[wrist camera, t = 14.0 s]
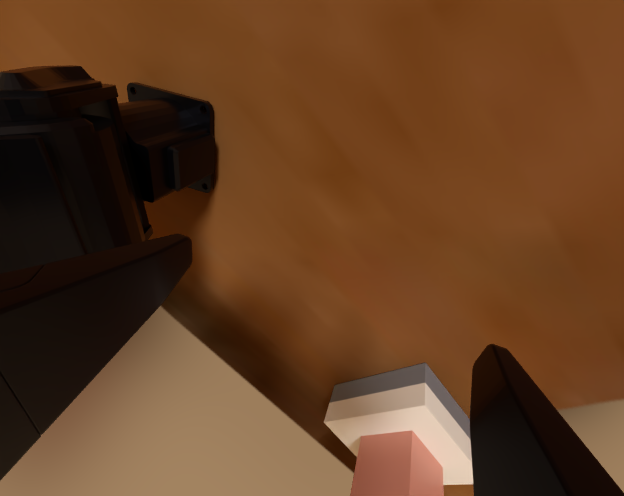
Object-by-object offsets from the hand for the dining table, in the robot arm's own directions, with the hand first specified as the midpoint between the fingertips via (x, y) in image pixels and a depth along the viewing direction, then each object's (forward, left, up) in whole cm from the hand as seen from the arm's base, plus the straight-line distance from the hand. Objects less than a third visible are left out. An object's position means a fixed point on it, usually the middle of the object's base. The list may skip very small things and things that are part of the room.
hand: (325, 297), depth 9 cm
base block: (+9, -22, -13) cm, 27 cm away
